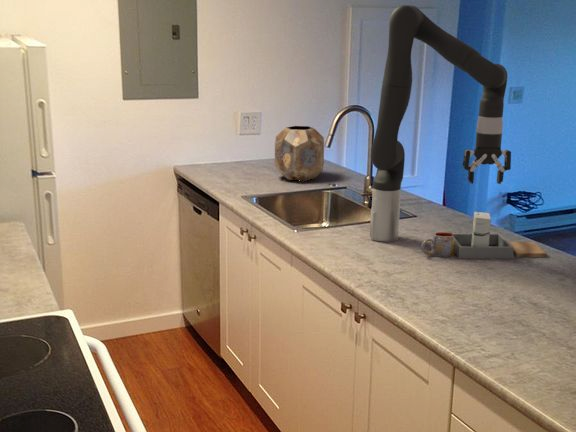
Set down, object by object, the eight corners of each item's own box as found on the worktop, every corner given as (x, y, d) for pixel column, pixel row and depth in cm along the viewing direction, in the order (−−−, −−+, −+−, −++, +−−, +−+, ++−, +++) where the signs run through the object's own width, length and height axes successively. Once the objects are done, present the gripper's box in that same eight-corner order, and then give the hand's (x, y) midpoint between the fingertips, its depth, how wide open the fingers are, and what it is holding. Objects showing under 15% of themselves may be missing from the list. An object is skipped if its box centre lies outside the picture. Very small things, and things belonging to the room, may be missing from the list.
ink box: (488, 255, 217) (491, 219, 214) (472, 254, 218) (475, 218, 215) (486, 247, 226) (489, 211, 223) (470, 246, 227) (473, 211, 223)
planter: (271, 183, 315) (271, 131, 309) (280, 172, 338) (280, 123, 332) (319, 185, 312) (320, 132, 305) (326, 174, 335) (326, 124, 329)
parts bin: (458, 258, 215) (459, 247, 214) (448, 243, 229) (449, 233, 228) (512, 258, 215) (513, 247, 214) (498, 243, 229) (499, 233, 228)
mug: (445, 249, 224) (446, 229, 222) (458, 255, 217) (459, 235, 216) (413, 254, 219) (414, 234, 217) (426, 260, 213) (427, 239, 211)
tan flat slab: (516, 256, 216) (517, 253, 216) (505, 245, 228) (505, 241, 228) (545, 257, 216) (546, 253, 216) (532, 245, 228) (533, 241, 227)
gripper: (469, 133, 209) (465, 185, 213) (516, 133, 209) (511, 186, 213) (462, 129, 216) (459, 180, 220) (508, 129, 216) (504, 180, 220)
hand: (485, 183), depth 217 cm, fingers open, 8 cm apart
